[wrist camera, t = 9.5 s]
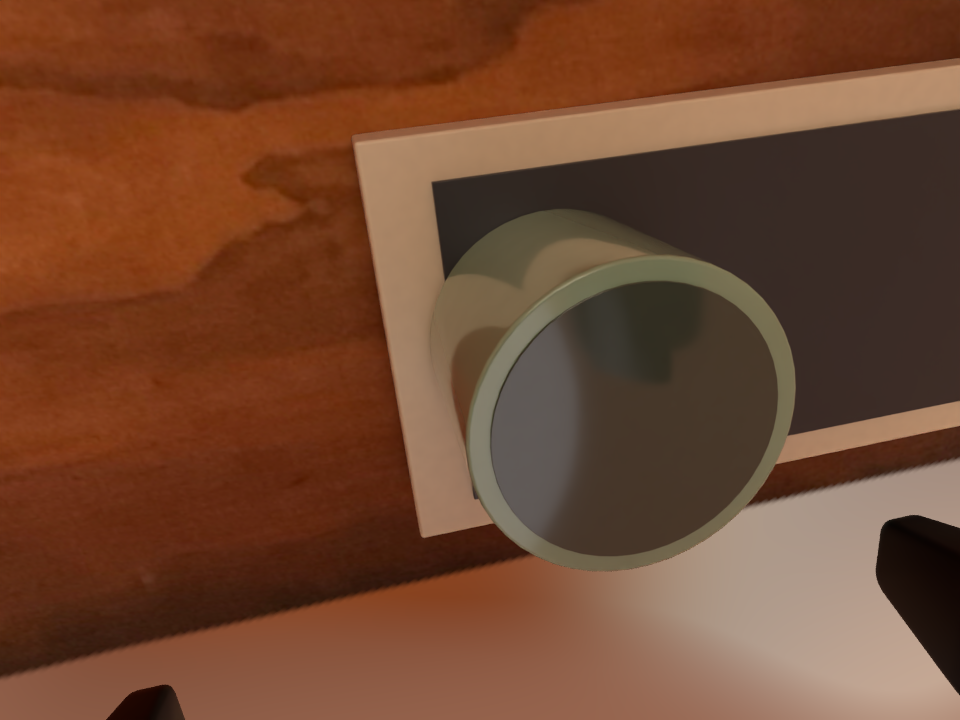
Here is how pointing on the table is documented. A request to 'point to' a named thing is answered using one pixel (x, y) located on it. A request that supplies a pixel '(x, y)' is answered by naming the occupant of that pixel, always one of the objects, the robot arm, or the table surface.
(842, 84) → the copier
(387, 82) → the table surface
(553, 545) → the cup
